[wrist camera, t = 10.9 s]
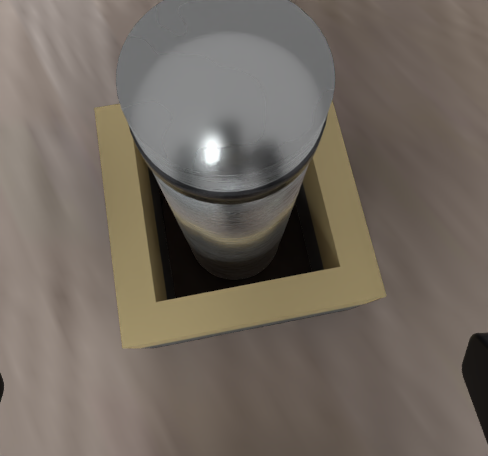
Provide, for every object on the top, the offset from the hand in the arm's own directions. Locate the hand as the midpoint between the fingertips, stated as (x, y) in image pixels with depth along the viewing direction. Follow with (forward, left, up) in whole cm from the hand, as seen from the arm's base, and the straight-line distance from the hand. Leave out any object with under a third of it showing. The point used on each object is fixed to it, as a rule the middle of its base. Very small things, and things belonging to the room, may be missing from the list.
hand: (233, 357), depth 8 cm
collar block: (+5, -1, -10) cm, 11 cm away
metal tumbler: (+5, -1, -10) cm, 12 cm away
